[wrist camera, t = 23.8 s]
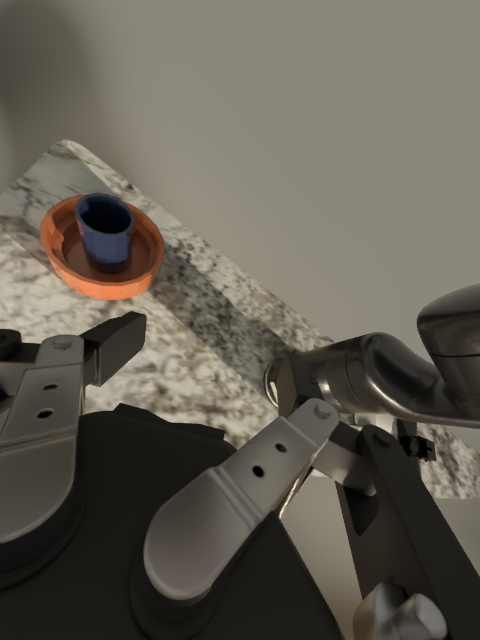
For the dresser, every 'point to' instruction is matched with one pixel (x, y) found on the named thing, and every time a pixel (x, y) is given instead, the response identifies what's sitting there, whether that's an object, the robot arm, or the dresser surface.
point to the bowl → (80, 275)
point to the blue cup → (106, 232)
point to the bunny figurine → (373, 421)
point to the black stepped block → (415, 444)
